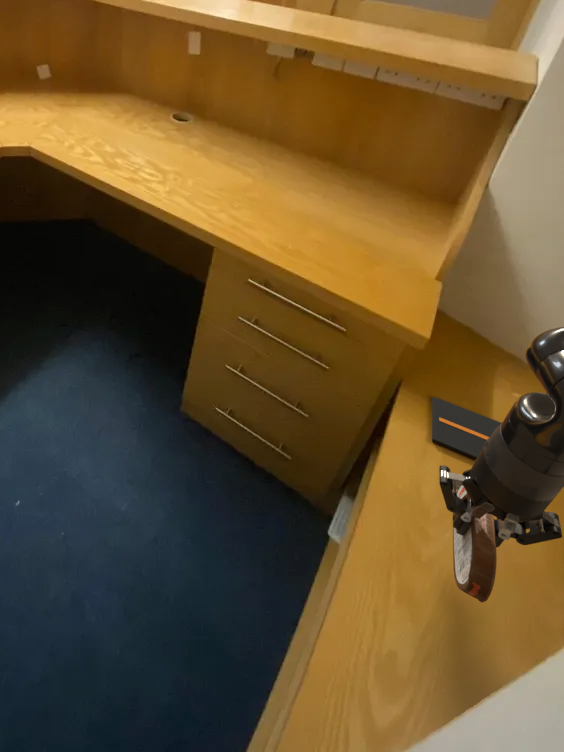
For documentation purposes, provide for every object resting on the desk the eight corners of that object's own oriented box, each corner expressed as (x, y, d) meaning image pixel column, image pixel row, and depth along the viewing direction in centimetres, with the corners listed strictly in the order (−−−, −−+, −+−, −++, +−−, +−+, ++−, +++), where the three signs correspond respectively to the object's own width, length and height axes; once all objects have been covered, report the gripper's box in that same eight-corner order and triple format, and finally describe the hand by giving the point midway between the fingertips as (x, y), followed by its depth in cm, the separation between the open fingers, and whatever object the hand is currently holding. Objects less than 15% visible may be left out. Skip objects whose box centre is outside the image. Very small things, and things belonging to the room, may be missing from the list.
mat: (514, 430, 98) (516, 428, 97) (520, 478, 90) (523, 476, 90) (432, 398, 104) (433, 396, 103) (431, 441, 96) (433, 438, 96)
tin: (475, 613, 66) (505, 588, 62) (448, 598, 67) (475, 572, 63) (470, 502, 77) (495, 474, 73) (447, 491, 79) (470, 463, 74)
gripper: (455, 465, 62) (415, 533, 70) (602, 528, 56) (538, 594, 64) (453, 414, 67) (416, 483, 76) (587, 466, 61) (530, 534, 70)
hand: (473, 534), depth 70 cm, fingers closed on tin, 2 cm apart
